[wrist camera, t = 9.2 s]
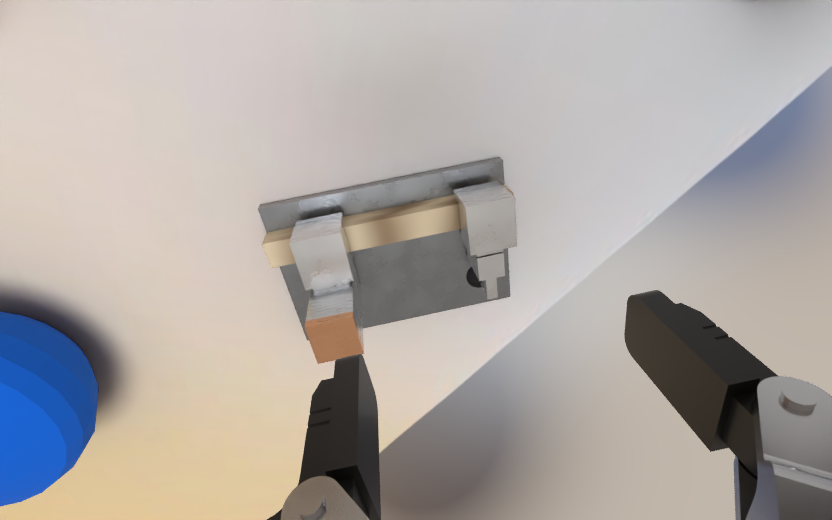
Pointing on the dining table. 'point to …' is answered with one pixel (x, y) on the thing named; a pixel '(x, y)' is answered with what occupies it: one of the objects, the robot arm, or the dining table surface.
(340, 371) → the robot arm
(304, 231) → the slide leg
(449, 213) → the divider rail
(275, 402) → the dining table surface
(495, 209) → the fixed leg
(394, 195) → the bolt plate
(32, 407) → the vase
